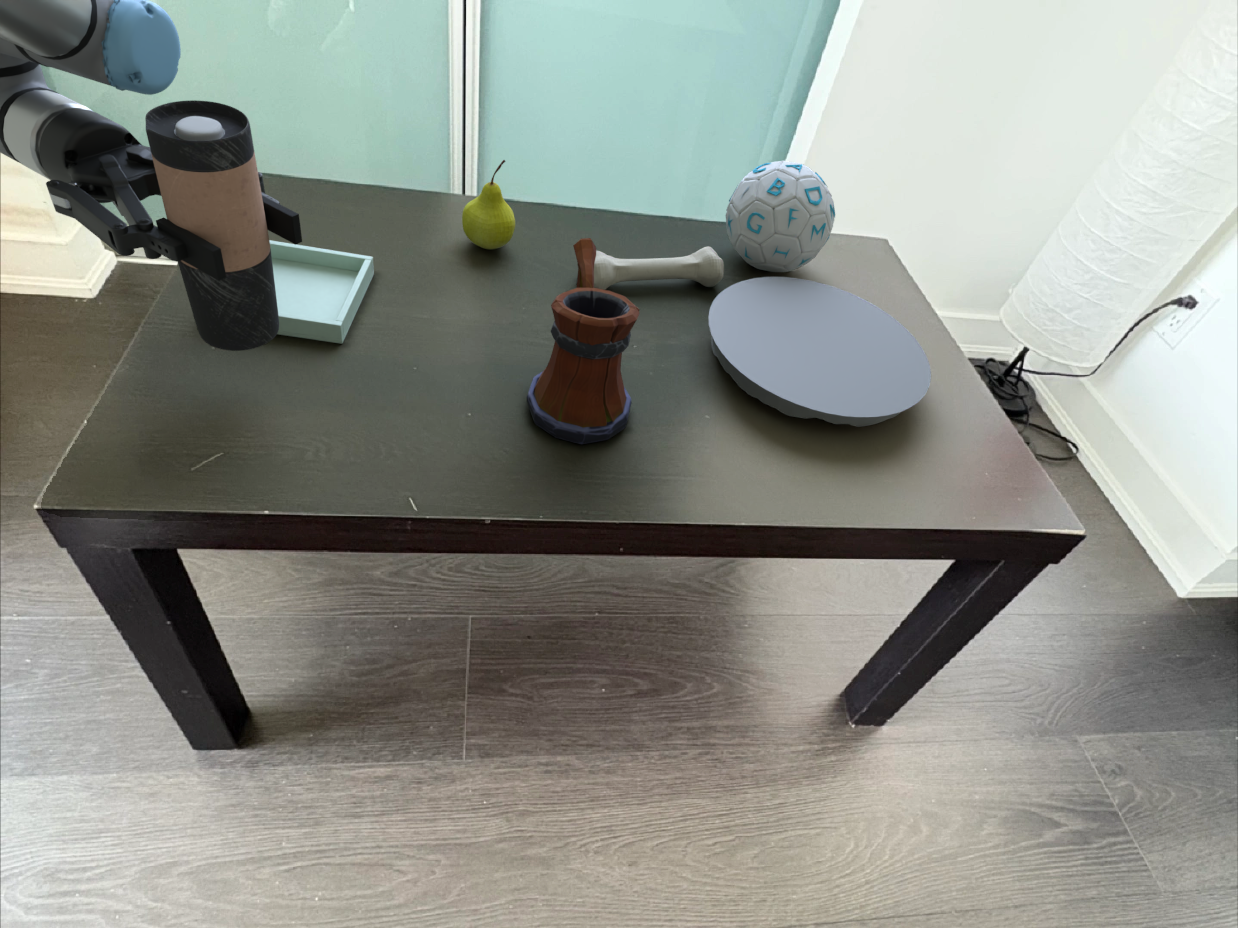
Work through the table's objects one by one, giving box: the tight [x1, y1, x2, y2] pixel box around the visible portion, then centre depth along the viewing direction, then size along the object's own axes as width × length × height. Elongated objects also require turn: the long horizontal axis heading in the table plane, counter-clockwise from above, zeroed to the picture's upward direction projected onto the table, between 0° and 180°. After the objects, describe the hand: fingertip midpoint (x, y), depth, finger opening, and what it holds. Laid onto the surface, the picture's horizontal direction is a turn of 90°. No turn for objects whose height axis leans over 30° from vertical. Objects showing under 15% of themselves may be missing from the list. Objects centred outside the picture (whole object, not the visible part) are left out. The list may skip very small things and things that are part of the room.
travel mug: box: [144, 99, 279, 352], centre depth 69 cm, size 8×8×20 cm
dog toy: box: [594, 245, 725, 290], centre depth 106 cm, size 20×6×5 cm, turn 108°
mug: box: [526, 237, 641, 445], centre depth 84 cm, size 18×12×15 cm, turn 6°
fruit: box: [461, 159, 516, 250], centre depth 103 cm, size 7×7×12 cm
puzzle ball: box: [725, 160, 836, 273], centre depth 112 cm, size 15×15×15 cm
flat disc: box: [708, 276, 932, 428], centre depth 98 cm, size 28×28×4 cm
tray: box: [269, 239, 375, 345], centre depth 91 cm, size 15×15×2 cm
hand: (259, 246), depth 67 cm, fingers closed on travel mug, 7 cm apart
